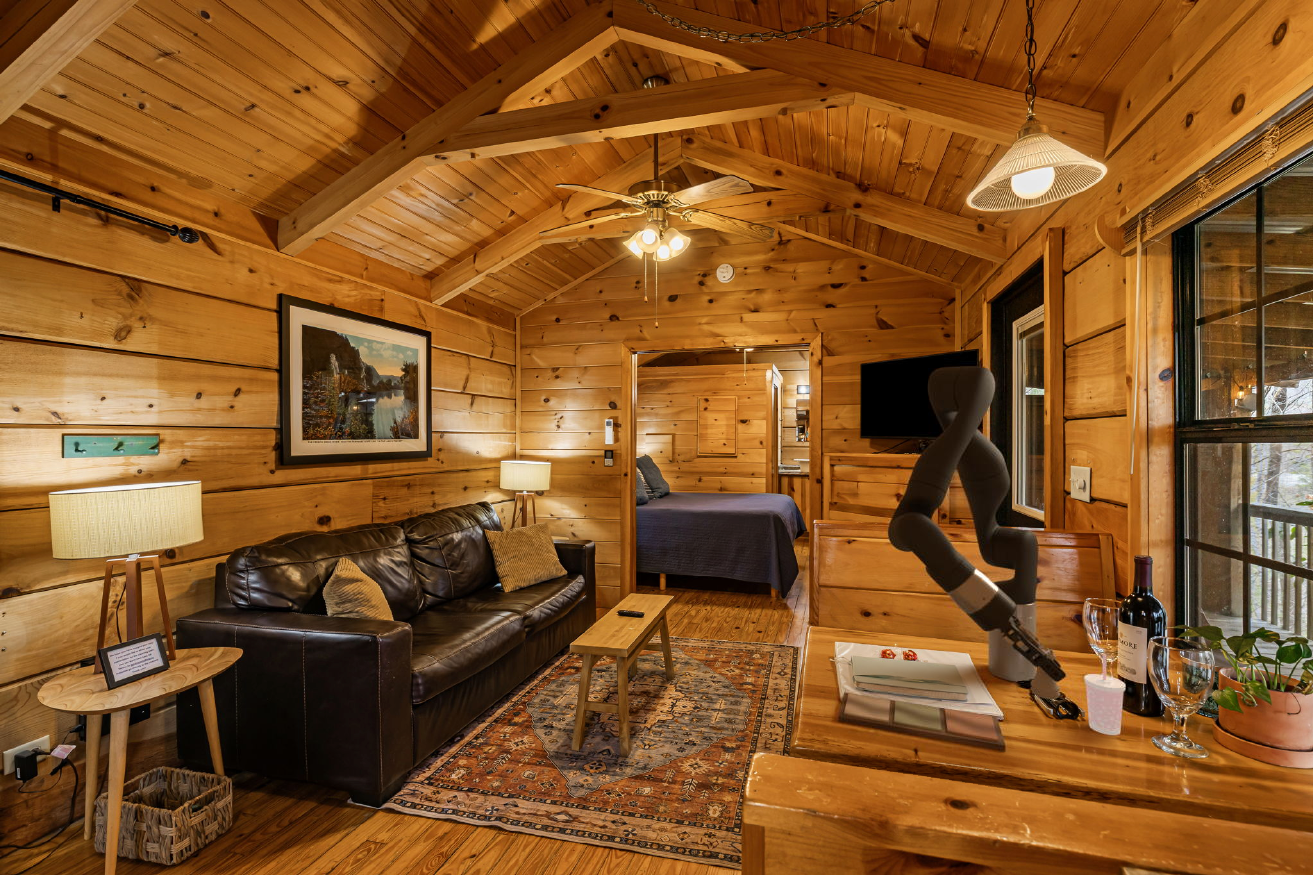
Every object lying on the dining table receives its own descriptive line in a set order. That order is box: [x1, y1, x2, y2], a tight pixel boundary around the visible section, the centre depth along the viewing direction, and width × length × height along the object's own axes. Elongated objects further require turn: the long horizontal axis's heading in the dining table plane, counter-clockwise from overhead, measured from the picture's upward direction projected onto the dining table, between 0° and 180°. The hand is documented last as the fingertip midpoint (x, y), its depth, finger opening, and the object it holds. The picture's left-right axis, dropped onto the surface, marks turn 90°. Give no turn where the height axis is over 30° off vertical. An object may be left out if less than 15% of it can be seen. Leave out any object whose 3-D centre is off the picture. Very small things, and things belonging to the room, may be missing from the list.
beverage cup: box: [1083, 653, 1126, 736], centre depth 109 cm, size 6×6×14 cm
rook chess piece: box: [1030, 647, 1061, 700], centre depth 104 cm, size 4×4×8 cm
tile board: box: [837, 691, 1006, 752], centre depth 112 cm, size 11×28×1 cm, turn 67°
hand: (1058, 673), depth 103 cm, fingers closed on rook chess piece, 3 cm apart
